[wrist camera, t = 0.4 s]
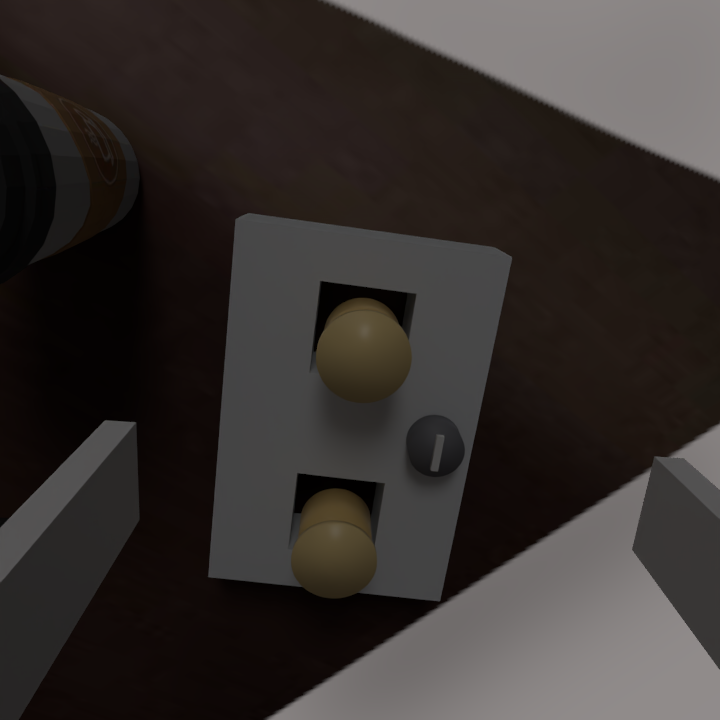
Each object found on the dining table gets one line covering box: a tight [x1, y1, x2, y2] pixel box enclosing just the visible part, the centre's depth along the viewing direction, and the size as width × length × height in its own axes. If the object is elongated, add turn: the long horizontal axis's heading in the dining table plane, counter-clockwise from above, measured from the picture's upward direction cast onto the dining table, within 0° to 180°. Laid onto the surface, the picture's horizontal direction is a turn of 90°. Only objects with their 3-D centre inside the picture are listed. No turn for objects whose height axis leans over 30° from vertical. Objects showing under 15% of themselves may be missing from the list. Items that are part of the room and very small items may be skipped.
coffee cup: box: [0, 75, 140, 284], centre depth 27 cm, size 8×8×15 cm
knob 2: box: [291, 488, 377, 598], centre depth 34 cm, size 4×4×4 cm
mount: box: [208, 213, 512, 601], centre depth 35 cm, size 14×21×6 cm, turn 172°
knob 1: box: [316, 298, 412, 403], centre depth 30 cm, size 4×4×4 cm
